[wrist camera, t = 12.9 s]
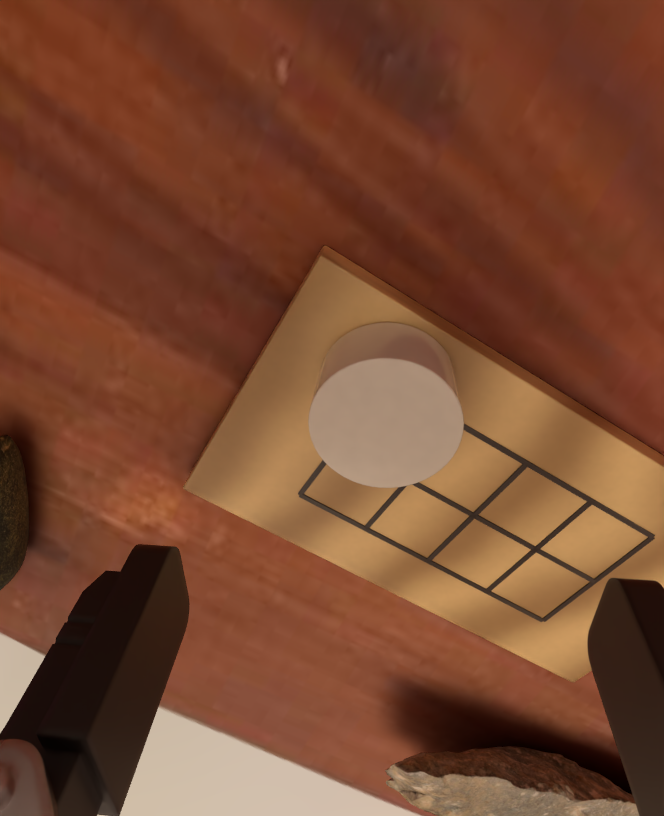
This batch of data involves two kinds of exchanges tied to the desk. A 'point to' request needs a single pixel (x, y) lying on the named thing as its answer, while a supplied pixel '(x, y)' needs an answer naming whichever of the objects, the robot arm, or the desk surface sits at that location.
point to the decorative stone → (12, 510)
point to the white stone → (386, 406)
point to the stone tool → (506, 785)
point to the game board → (446, 482)
